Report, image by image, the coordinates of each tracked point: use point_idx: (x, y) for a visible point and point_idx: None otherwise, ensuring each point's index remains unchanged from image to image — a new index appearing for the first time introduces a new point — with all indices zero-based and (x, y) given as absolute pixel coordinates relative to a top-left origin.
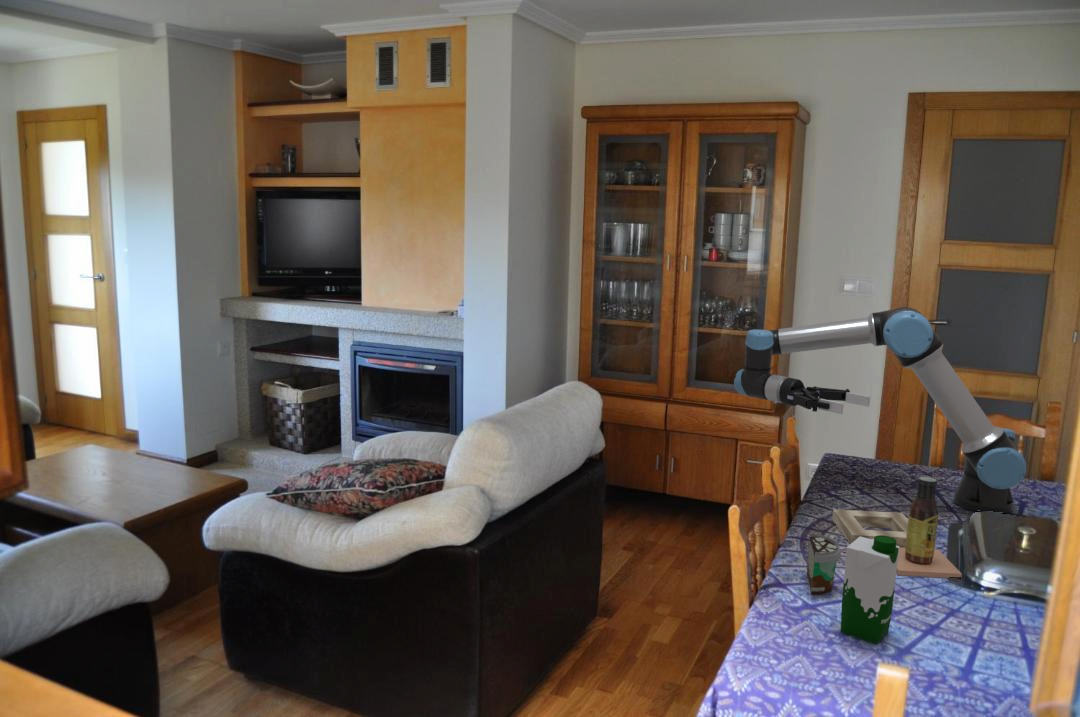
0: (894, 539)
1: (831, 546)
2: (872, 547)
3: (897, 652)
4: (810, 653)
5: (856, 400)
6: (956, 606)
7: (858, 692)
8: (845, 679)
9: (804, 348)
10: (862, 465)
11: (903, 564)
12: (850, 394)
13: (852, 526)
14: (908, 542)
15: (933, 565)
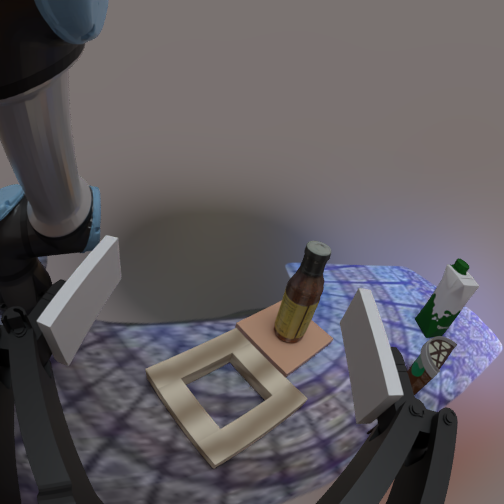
0: (457, 259)
1: (431, 348)
2: (465, 274)
3: None
4: (466, 336)
5: (93, 303)
6: (341, 297)
7: None
8: (461, 316)
9: None
10: None
11: (315, 339)
12: (67, 310)
13: (273, 412)
14: (308, 325)
15: None
